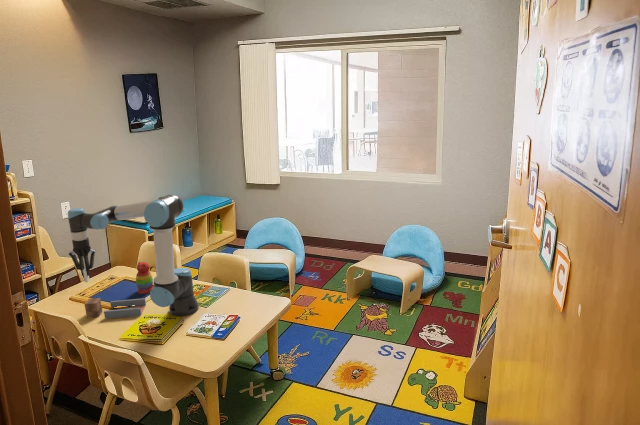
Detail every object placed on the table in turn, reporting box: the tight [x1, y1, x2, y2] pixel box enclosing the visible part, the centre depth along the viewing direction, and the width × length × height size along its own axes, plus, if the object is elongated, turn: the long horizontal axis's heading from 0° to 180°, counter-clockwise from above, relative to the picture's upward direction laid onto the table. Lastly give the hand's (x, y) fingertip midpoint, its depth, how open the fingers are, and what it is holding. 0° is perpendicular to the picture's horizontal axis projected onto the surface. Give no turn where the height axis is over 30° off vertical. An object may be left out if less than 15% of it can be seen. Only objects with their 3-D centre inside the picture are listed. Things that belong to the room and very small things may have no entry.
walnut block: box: [83, 297, 104, 319], centre depth 245 cm, size 6×6×8 cm
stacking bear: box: [135, 261, 154, 295], centre depth 271 cm, size 11×10×18 cm
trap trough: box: [103, 297, 147, 320], centre depth 248 cm, size 18×12×4 cm
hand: (87, 281), depth 241 cm, fingers closed
